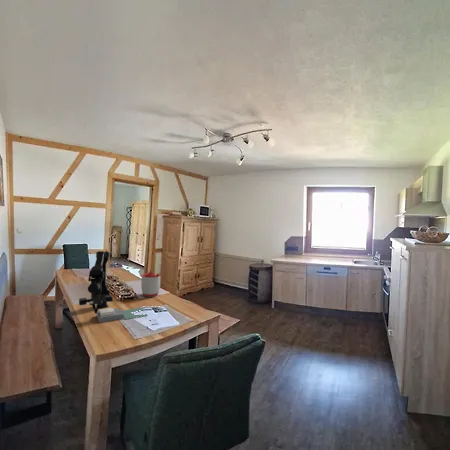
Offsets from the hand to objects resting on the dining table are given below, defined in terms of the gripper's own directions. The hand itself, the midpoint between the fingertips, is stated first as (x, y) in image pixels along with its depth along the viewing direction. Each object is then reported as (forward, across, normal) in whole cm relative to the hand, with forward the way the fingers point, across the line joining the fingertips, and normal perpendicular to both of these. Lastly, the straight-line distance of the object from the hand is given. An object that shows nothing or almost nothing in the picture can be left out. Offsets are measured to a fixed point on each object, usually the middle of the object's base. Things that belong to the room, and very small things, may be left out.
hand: (95, 313), depth 172 cm
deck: (+4, +8, 0) cm, 9 cm away
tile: (+1, +6, 0) cm, 6 cm away
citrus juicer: (+4, +46, +37) cm, 59 cm away
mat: (+4, +23, 0) cm, 24 cm away
